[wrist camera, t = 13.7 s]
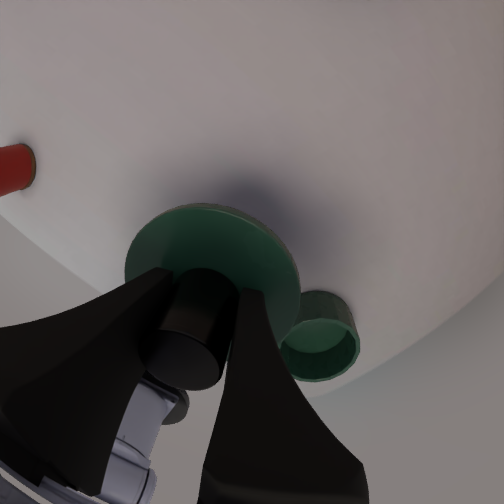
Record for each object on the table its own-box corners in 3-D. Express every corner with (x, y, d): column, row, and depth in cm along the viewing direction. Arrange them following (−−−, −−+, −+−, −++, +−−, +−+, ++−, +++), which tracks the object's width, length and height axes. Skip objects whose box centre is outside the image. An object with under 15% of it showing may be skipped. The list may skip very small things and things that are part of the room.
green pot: (320, 361, 24) (323, 391, 20) (261, 332, 23) (258, 362, 20) (365, 312, 21) (376, 341, 18) (305, 277, 21) (309, 303, 18)
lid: (245, 364, 13) (229, 445, 9) (119, 295, 12) (68, 361, 8) (335, 259, 10) (356, 344, 6) (173, 163, 9) (101, 200, 6)
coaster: (30, 196, 20) (26, 197, 20) (6, 177, 20) (2, 179, 19) (40, 154, 19) (36, 155, 18) (15, 137, 18) (11, 138, 18)
